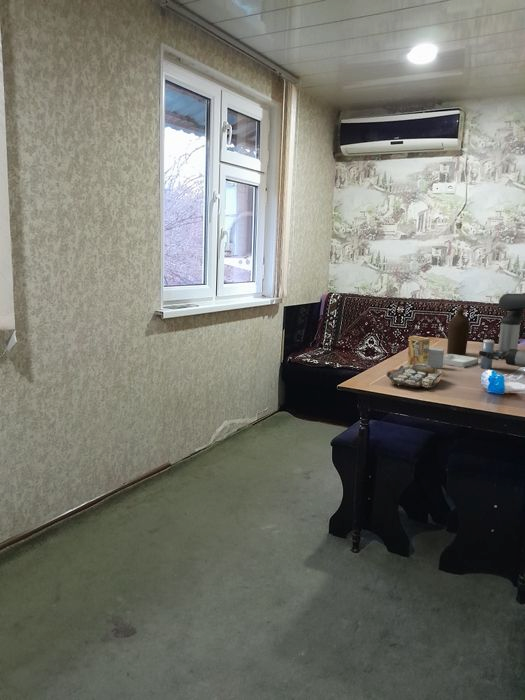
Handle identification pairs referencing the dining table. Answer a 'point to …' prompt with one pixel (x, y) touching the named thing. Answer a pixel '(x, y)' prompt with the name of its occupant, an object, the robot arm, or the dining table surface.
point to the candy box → (418, 350)
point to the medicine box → (436, 357)
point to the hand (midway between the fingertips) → (482, 352)
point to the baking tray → (416, 375)
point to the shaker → (487, 347)
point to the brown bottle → (458, 333)
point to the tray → (459, 360)
